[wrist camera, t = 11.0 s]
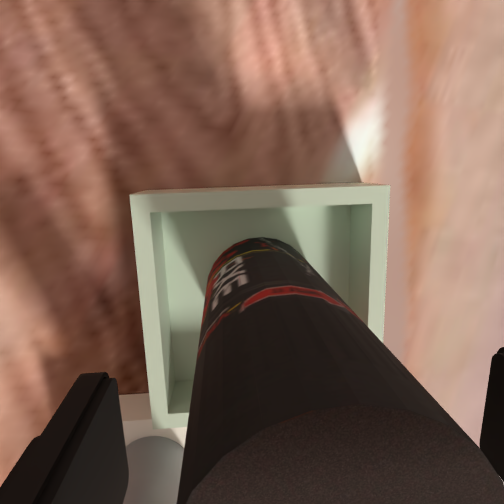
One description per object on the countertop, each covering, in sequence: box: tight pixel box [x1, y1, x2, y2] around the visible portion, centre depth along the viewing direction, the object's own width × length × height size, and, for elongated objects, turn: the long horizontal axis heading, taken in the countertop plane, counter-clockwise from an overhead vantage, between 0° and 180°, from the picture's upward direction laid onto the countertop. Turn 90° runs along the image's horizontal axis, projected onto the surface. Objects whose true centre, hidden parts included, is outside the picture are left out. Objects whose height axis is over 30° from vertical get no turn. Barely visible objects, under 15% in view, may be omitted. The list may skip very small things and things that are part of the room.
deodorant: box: [177, 237, 504, 504], centre depth 14 cm, size 6×6×15 cm
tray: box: [130, 182, 390, 429], centre depth 20 cm, size 12×12×4 cm
